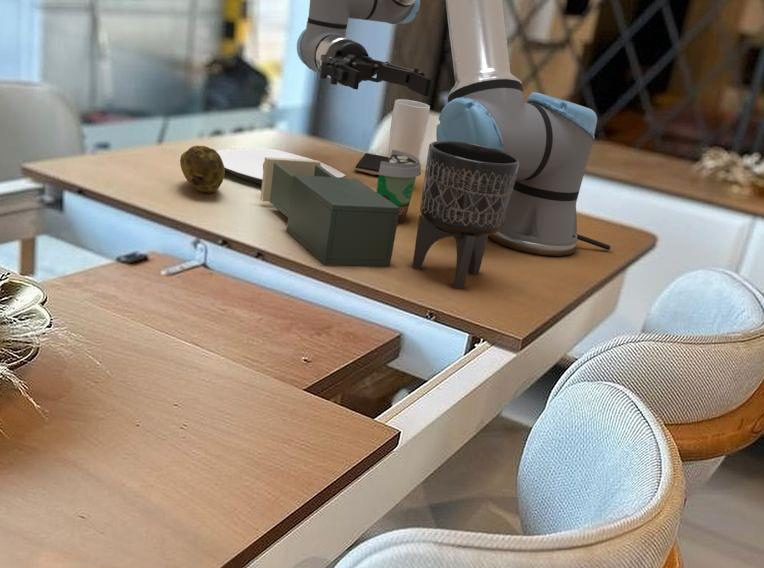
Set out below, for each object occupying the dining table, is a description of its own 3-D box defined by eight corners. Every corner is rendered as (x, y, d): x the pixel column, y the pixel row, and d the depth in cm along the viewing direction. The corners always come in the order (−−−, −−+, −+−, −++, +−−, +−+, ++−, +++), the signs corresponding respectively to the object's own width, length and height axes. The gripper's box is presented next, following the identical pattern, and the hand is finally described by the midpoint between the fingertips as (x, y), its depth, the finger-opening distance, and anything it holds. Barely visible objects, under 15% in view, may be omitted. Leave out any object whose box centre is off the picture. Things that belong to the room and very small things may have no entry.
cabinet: (286, 231, 156) (293, 174, 152) (348, 233, 161) (356, 178, 156) (324, 265, 145) (332, 204, 140) (390, 266, 149) (400, 207, 145)
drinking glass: (422, 189, 195) (437, 108, 187) (394, 190, 191) (409, 106, 184) (401, 180, 199) (415, 99, 192) (374, 180, 196) (387, 98, 188)
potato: (233, 188, 174) (237, 140, 170) (216, 205, 163) (221, 154, 159) (186, 179, 174) (189, 131, 170) (166, 196, 163) (169, 145, 159)
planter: (395, 275, 146) (417, 148, 137) (420, 255, 156) (443, 136, 147) (481, 297, 143) (510, 169, 134) (500, 275, 154) (529, 155, 145)
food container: (406, 230, 167) (417, 169, 162) (370, 223, 168) (380, 161, 163) (416, 214, 178) (427, 155, 173) (382, 207, 179) (392, 148, 173)
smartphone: (400, 159, 210) (391, 173, 197) (399, 164, 211) (390, 179, 198) (365, 152, 211) (354, 166, 198) (364, 158, 211) (354, 172, 198)
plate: (360, 187, 189) (362, 177, 188) (273, 197, 173) (274, 186, 172) (274, 156, 200) (275, 145, 199) (184, 162, 184) (185, 151, 183)
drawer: (250, 190, 171) (254, 149, 167) (302, 193, 175) (307, 152, 171) (291, 226, 156) (296, 181, 153) (346, 228, 160) (353, 184, 156)
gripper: (399, 88, 193) (452, 113, 176) (277, 76, 182) (322, 101, 166) (406, 45, 189) (461, 67, 173) (282, 31, 178) (328, 52, 162)
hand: (393, 84), depth 169 cm, fingers open, 13 cm apart
